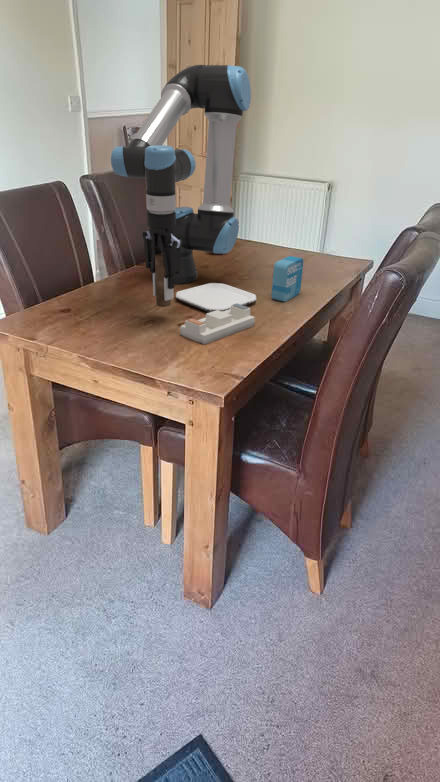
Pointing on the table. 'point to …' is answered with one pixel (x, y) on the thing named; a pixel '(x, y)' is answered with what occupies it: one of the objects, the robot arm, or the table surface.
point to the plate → (215, 297)
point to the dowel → (160, 281)
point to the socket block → (218, 324)
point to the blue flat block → (287, 278)
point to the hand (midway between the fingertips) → (163, 296)
